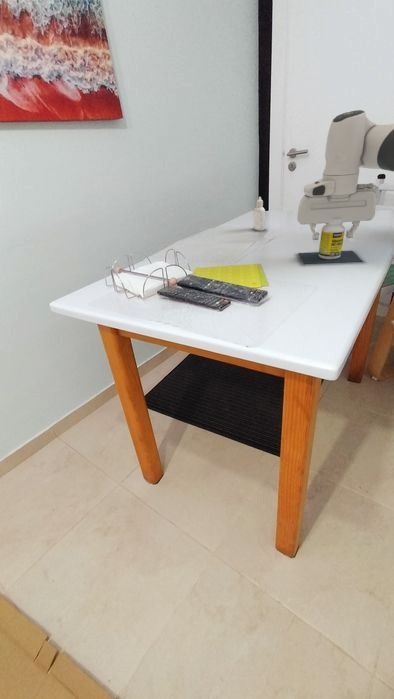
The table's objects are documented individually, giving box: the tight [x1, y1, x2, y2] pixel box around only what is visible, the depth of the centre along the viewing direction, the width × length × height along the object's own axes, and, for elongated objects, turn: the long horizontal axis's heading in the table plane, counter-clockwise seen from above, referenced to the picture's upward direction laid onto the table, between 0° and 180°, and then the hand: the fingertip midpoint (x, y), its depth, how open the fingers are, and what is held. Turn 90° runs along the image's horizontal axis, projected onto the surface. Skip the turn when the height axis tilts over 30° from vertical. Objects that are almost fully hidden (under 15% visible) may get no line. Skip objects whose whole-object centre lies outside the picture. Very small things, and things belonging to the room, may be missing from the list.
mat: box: [298, 250, 363, 265], centre depth 100 cm, size 16×10×1 cm, turn 85°
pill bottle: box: [318, 219, 346, 259], centre depth 97 cm, size 6×6×11 cm
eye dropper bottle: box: [253, 196, 266, 232], centre depth 131 cm, size 4×6×12 cm
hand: (332, 238), depth 97 cm, fingers open, 8 cm apart
